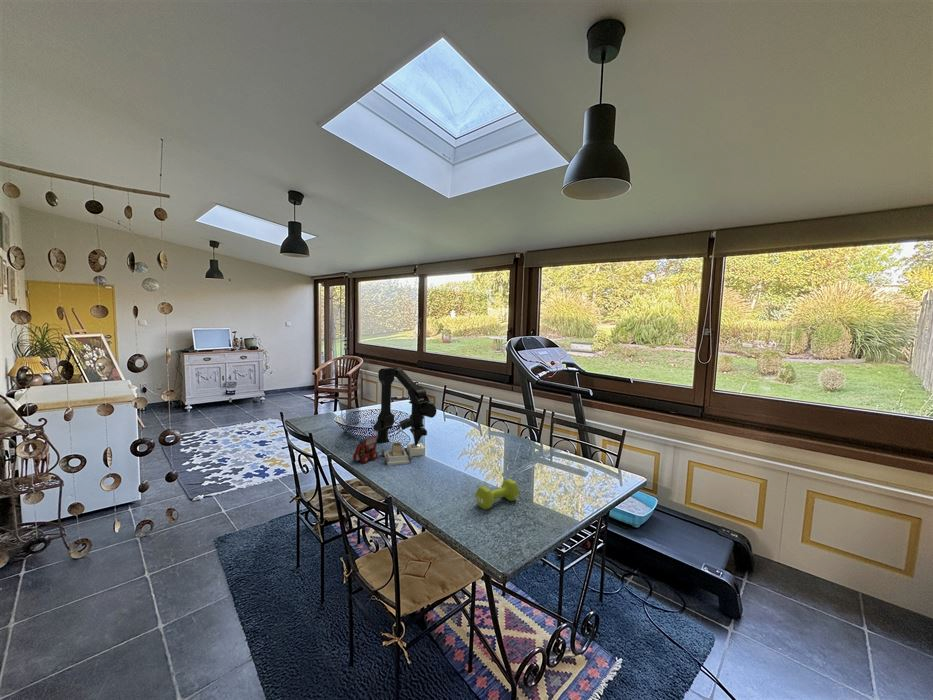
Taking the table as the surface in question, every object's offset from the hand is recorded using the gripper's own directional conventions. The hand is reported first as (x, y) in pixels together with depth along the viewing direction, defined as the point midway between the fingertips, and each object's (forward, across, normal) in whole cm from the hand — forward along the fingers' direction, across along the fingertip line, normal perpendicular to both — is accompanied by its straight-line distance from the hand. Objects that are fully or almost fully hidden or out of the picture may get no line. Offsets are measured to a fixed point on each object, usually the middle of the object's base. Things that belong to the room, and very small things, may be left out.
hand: (416, 444), depth 176 cm
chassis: (+4, +5, -10) cm, 12 cm away
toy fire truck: (+5, +3, -24) cm, 25 cm away
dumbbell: (+5, +55, +19) cm, 58 cm away
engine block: (+3, +6, -10) cm, 13 cm away
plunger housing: (+4, 0, 0) cm, 4 cm away
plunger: (+4, 0, 0) cm, 4 cm away
